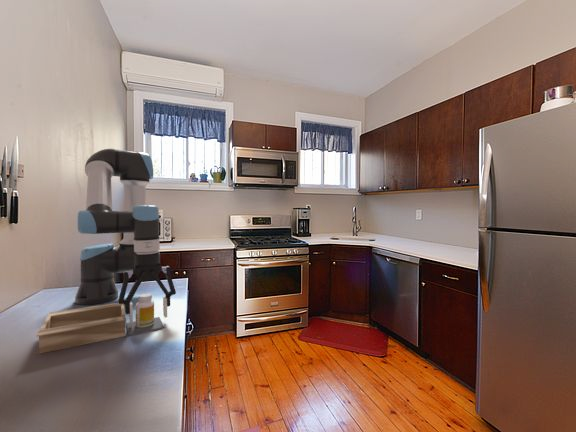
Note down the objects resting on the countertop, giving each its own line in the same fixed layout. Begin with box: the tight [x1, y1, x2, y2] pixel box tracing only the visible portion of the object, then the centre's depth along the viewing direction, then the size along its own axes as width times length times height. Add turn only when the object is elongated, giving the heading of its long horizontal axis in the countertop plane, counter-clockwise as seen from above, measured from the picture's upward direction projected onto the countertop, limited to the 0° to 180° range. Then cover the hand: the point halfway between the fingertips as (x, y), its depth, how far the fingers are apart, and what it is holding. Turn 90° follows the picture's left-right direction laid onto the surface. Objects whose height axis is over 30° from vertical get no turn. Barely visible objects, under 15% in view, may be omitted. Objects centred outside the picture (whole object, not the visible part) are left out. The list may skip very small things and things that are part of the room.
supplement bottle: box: [135, 293, 155, 328], centre depth 89 cm, size 5×5×10 cm
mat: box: [125, 316, 165, 337], centre depth 89 cm, size 10×10×1 cm
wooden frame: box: [36, 302, 127, 355], centre depth 82 cm, size 19×20×6 cm
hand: (148, 319), depth 90 cm, fingers open, 9 cm apart
